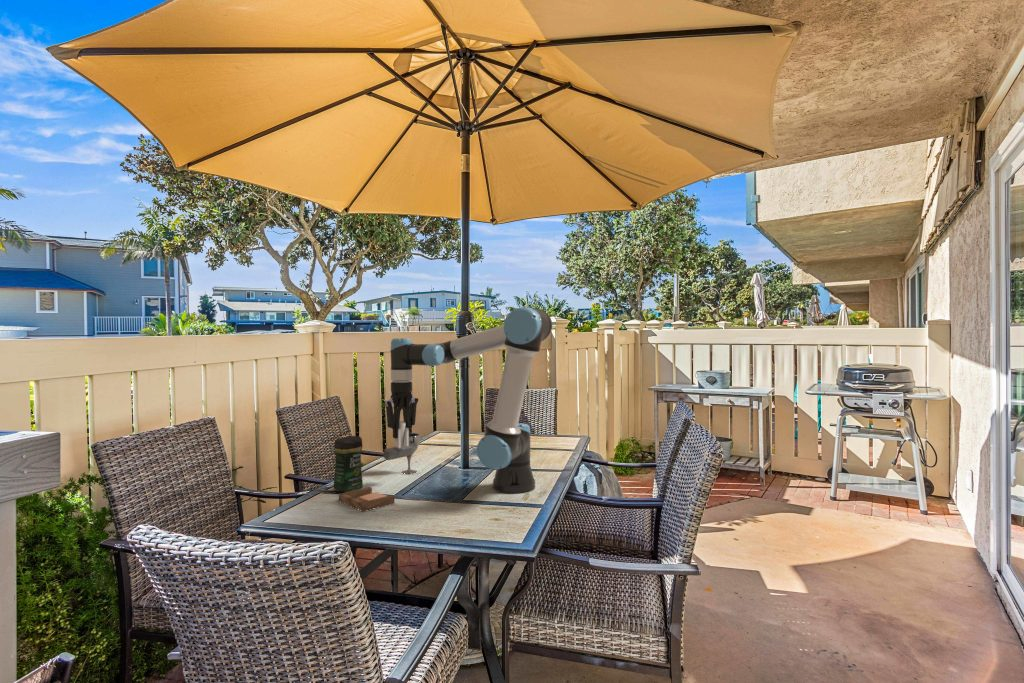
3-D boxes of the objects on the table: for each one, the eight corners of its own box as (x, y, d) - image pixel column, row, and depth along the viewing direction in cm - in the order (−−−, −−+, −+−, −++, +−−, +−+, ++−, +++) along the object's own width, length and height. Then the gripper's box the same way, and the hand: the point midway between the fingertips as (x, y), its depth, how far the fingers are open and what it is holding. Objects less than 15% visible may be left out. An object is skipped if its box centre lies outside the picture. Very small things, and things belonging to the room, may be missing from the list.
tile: (388, 502, 180) (388, 496, 180) (370, 507, 175) (370, 501, 175) (376, 497, 185) (376, 492, 185) (358, 502, 180) (358, 496, 180)
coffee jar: (344, 494, 188) (344, 440, 187) (330, 490, 192) (329, 437, 192) (366, 487, 196) (366, 435, 195) (352, 483, 200) (351, 433, 200)
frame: (394, 503, 178) (394, 495, 177) (362, 511, 169) (362, 503, 169) (369, 493, 188) (369, 486, 188) (338, 501, 180) (338, 493, 180)
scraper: (405, 452, 203) (410, 419, 201) (410, 455, 202) (415, 422, 199) (383, 457, 196) (387, 423, 194) (387, 460, 194) (392, 426, 192)
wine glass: (395, 474, 213) (395, 436, 213) (404, 469, 221) (403, 432, 220) (414, 475, 211) (414, 437, 211) (422, 470, 219) (422, 433, 219)
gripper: (413, 379, 204) (413, 441, 205) (376, 382, 193) (376, 448, 194) (425, 380, 199) (425, 444, 200) (388, 383, 188) (388, 451, 188)
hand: (401, 446), depth 197 cm, fingers closed on scraper, 3 cm apart
